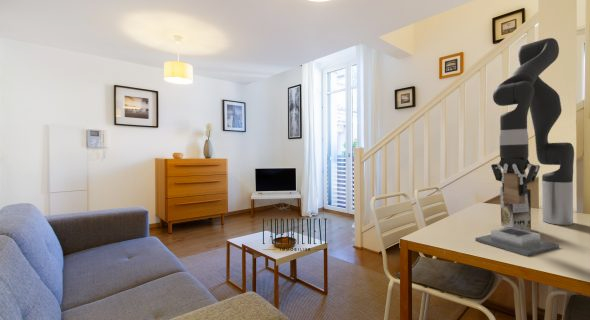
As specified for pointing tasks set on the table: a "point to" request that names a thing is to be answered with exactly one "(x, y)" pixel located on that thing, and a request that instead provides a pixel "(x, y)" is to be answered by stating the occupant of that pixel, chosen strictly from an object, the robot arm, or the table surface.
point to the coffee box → (516, 213)
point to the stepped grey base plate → (517, 241)
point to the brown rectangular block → (512, 189)
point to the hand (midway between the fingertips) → (514, 194)
